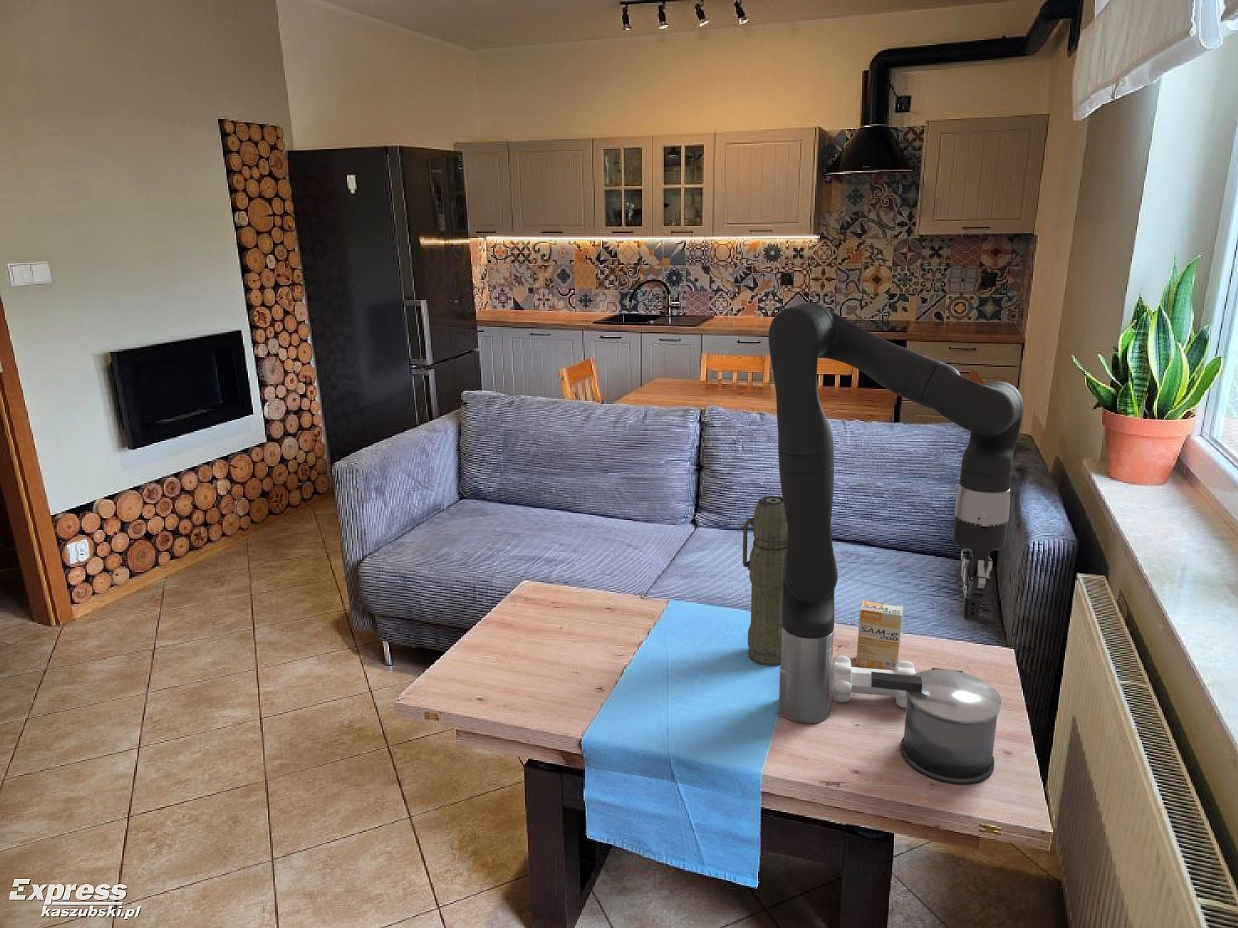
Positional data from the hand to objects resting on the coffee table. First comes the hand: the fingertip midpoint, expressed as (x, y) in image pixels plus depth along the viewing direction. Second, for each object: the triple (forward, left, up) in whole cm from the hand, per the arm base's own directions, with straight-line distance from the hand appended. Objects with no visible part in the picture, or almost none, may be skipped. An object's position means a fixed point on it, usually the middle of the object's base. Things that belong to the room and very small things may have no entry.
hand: (970, 617), depth 128 cm
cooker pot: (-1, +3, -27) cm, 28 cm away
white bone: (-13, +18, -28) cm, 35 cm away
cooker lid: (-4, +3, -16) cm, 17 cm away
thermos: (-33, +31, -28) cm, 53 cm away
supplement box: (-11, +32, -28) cm, 43 cm away
